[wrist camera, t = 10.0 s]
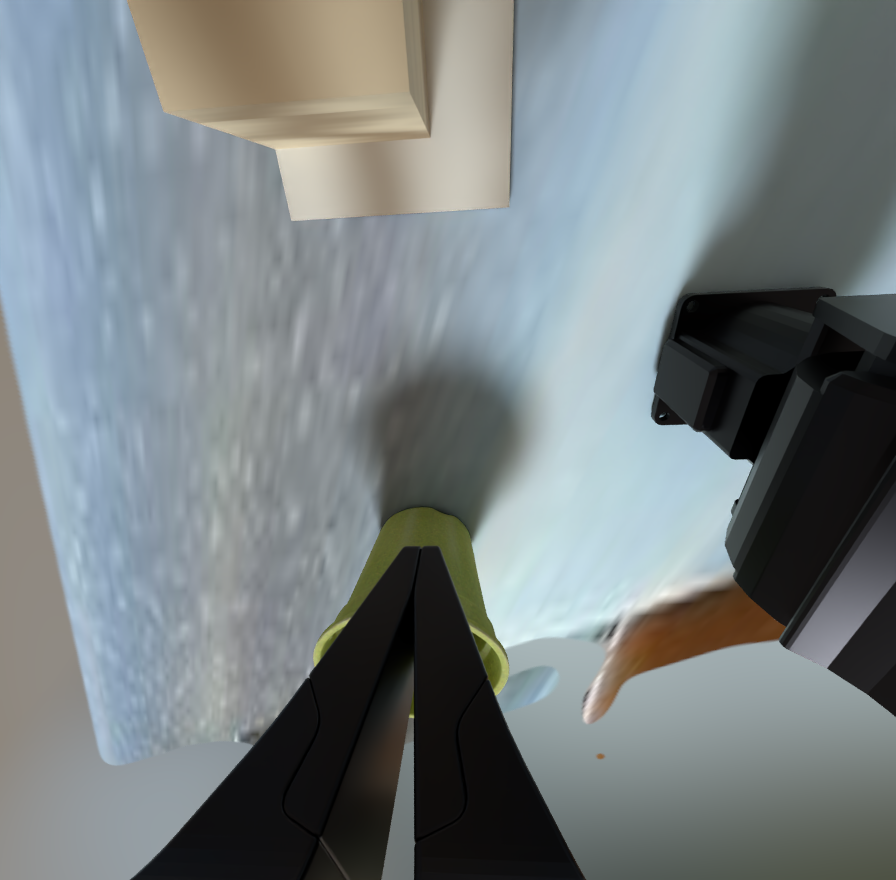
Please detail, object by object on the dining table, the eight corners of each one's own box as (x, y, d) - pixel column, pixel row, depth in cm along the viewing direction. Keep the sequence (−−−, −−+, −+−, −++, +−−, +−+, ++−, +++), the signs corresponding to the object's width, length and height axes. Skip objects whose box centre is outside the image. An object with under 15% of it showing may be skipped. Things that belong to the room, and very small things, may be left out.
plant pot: (514, 568, 27) (534, 703, 20) (396, 598, 29) (372, 731, 22) (464, 465, 23) (464, 588, 15) (329, 510, 25) (272, 638, 17)
